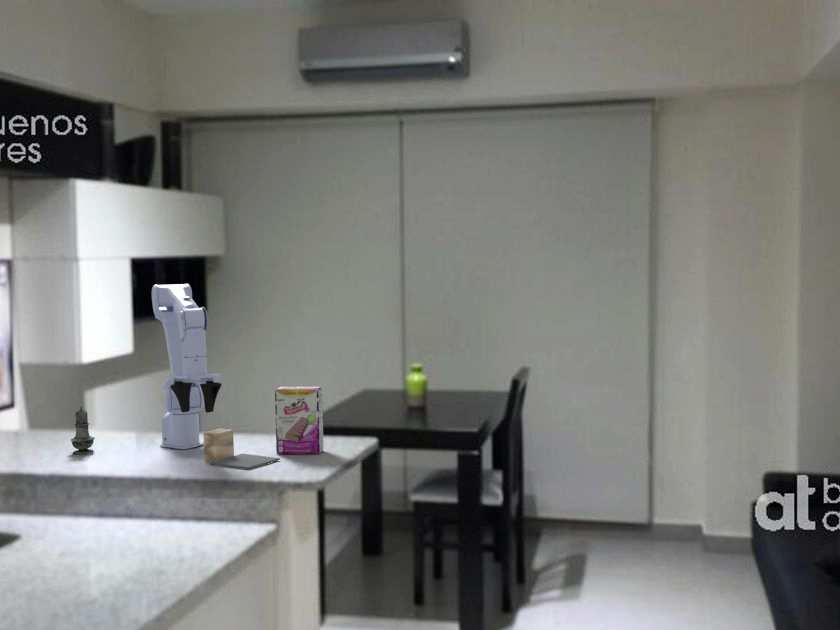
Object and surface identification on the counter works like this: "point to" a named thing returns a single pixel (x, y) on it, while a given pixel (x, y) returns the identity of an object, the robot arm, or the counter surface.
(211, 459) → the maple block
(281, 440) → the candy bar box
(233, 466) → the grey plate
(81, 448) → the salt shaker
